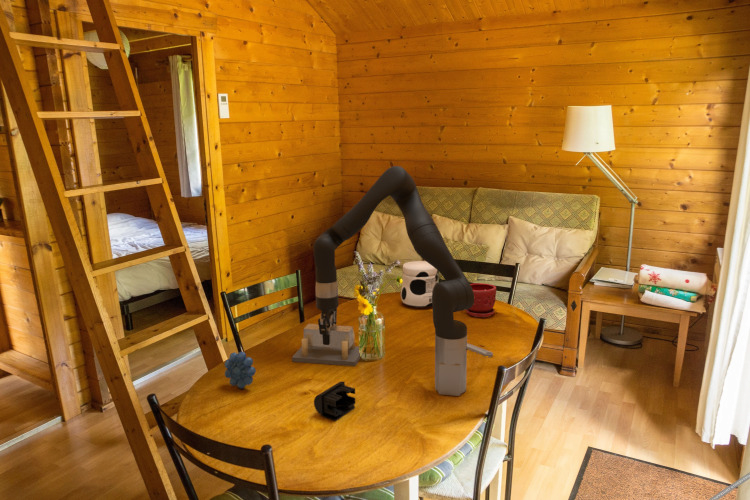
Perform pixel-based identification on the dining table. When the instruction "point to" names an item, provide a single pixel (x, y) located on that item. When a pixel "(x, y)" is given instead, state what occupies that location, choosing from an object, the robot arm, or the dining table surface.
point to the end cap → (335, 401)
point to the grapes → (239, 369)
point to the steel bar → (335, 335)
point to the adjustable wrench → (479, 350)
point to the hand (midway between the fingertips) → (328, 341)
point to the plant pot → (482, 300)
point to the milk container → (418, 283)
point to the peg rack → (328, 354)
